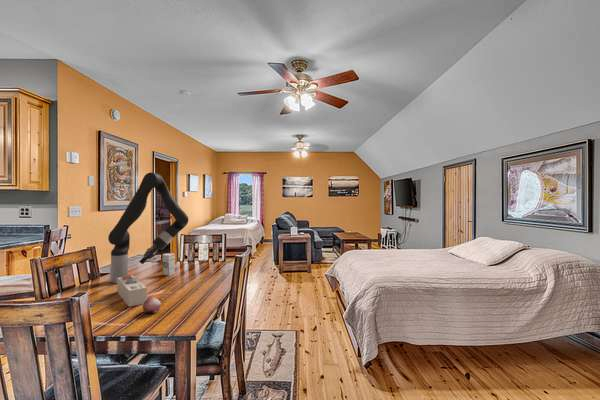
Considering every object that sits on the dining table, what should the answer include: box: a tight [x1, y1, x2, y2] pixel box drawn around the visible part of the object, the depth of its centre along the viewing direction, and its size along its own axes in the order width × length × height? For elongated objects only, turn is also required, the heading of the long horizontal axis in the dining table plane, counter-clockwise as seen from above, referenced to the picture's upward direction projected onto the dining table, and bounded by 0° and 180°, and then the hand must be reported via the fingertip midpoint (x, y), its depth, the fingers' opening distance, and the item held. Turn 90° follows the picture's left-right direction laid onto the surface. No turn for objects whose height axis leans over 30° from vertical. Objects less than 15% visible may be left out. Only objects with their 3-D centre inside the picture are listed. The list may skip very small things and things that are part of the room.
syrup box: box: [162, 252, 176, 277], centre depth 209 cm, size 6×6×14 cm
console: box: [116, 275, 148, 307], centre depth 162 cm, size 30×8×8 cm, turn 41°
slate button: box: [127, 279, 135, 284], centre depth 162 cm, size 4×4×2 cm
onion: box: [142, 296, 162, 314], centre depth 141 cm, size 8×8×7 cm
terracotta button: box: [123, 274, 132, 280], centre depth 170 cm, size 4×4×2 cm
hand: (140, 263), depth 175 cm, fingers closed
